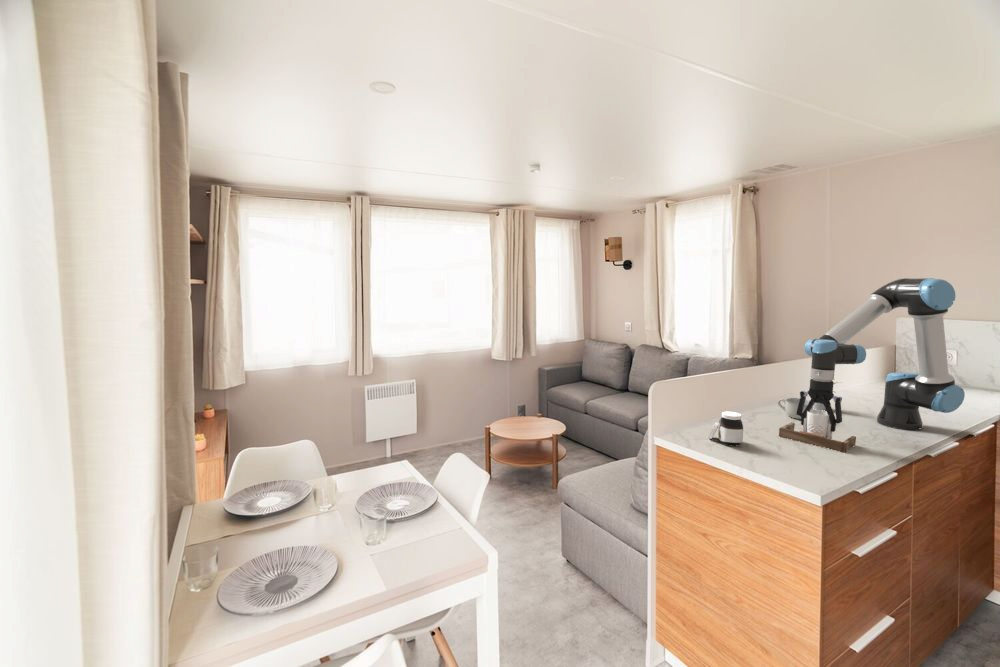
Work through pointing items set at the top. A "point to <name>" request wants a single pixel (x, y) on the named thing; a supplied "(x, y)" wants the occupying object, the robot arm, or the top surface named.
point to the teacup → (793, 406)
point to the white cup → (818, 422)
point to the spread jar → (729, 429)
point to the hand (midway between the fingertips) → (817, 436)
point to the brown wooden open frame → (816, 439)
